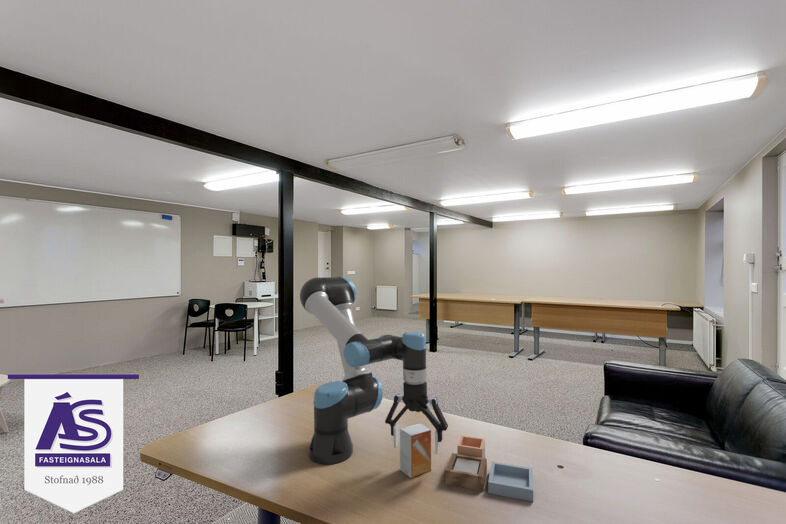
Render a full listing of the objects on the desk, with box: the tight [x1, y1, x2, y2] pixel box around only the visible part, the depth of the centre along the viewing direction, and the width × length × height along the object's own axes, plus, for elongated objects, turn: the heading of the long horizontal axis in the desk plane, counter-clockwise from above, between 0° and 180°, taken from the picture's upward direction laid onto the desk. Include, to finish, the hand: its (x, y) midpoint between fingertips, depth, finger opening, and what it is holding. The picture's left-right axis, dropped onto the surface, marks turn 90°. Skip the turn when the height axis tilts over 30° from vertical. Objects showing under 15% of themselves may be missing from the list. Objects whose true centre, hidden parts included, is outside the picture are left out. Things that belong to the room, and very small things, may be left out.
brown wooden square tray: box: [444, 452, 488, 492], centre depth 113 cm, size 11×11×4 cm
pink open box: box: [456, 434, 486, 458], centre depth 124 cm, size 8×8×6 cm
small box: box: [399, 423, 432, 479], centre depth 118 cm, size 8×6×13 cm
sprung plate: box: [453, 458, 480, 474], centre depth 113 cm, size 7×8×1 cm
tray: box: [487, 461, 534, 502], centre depth 109 cm, size 12×12×3 cm
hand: (416, 448), depth 118 cm, fingers open, 13 cm apart
